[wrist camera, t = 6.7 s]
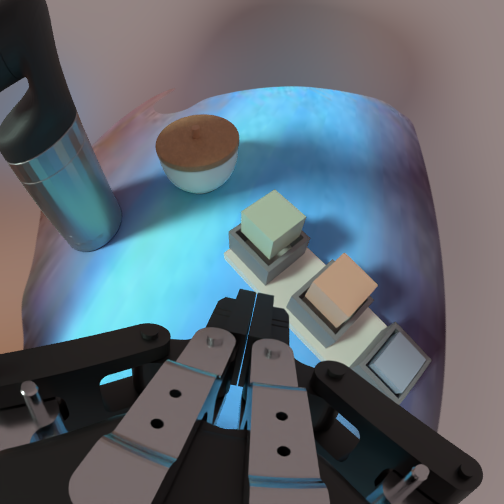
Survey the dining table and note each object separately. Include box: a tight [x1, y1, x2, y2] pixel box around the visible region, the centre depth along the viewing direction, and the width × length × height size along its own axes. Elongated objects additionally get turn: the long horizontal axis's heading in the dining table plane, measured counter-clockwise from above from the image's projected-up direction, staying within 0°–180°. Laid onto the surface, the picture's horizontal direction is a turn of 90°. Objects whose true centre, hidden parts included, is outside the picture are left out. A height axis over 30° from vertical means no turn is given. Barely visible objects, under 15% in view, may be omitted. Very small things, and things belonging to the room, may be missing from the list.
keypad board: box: [224, 224, 431, 405], centre depth 31 cm, size 25×8×5 cm, turn 41°
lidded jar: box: [156, 115, 239, 194], centre depth 38 cm, size 11×11×9 cm
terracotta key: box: [305, 253, 378, 328], centre depth 27 cm, size 4×4×4 cm
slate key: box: [366, 332, 426, 394], centre depth 26 cm, size 4×4×4 cm
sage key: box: [241, 190, 306, 260], centre depth 30 cm, size 4×4×4 cm
